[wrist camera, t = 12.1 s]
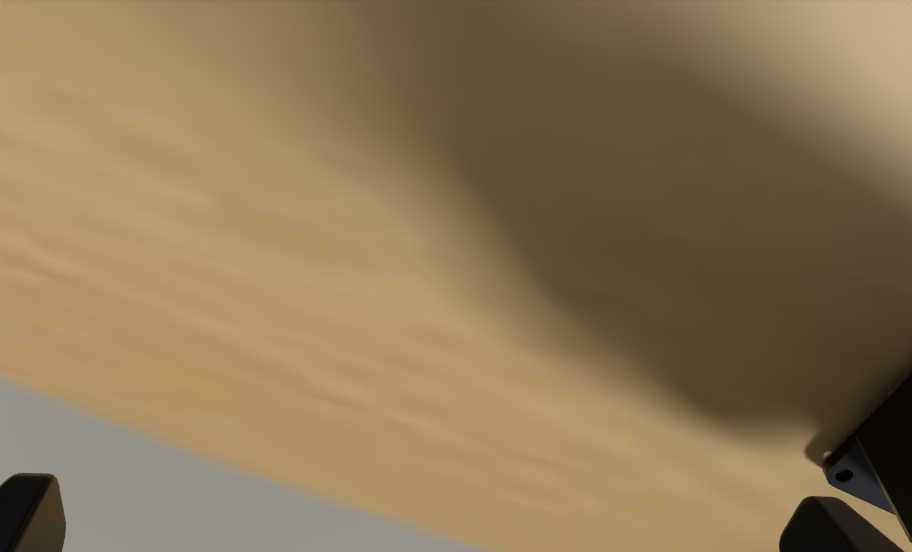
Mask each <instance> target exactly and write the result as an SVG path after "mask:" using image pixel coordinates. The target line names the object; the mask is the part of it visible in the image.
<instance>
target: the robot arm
mask: <svg viewBox="0 0 912 552" xmlns="http://www.w3.org/2000/svg"><path fill="white" fill-rule="evenodd" d="M844 469H847V470H846V471H844V472H841V473H837V472H839V471H840V470H844ZM822 470H823V472H824V474H825V476H826V478H827V481H828V483H829V484H830V485H832V486H833V487H835V488H838V489H840V490H842V491H844V492H846V493H848V494H851V495H853V496H855V497H857V498H859V499H862V500H864V501H866V502H868V503H870V504H872V505H875V506H877V507H879V508H881V509H883V510H886V511H888V512H890V513H892V514H894V515H896V517H897V518H898V520H899V522H900V524H901V526H902V528H903V530H904V532H905V533H906V535H907V537H908V539H909V541H910V542H911V543H912V375H911V376H910V377H909V378H908V379H907V380H906V381H905V382H904V383H903V384H902V385H901V386H900V387H899V388H898V389H897V390H896V391H895V392H894V393H893V394H892V395H891V396H890V397H889V398H888V399H887V400H886V401H885V402H884V403H883V404H882V405H881V406H880V407H879V408H878V409H877V410H876V411H875V412H874V413H873V414H872V415H871V416H870V417H869V418H868V419H867V420H866V421H865V422H864V423H863V424H862V425H861V426H860V427H859V428H858V429H857V430H856V431H855V432H854V433H853V434H852V435H851V436H850V437H849V438H848V439H847V440H846V441H845V442H844V443H843V444H842V445H841V446H840V447H839V448H838V449H837V450H836V451H835V452H834V453H833V454H832V455H831V456H830V457H829V458H828V459H827V460H826V461H825V463H824V464H823V469H822ZM65 531H66V521H65V515H64V510H63V505H62V499H61V494H60V489H59V483H58V481H57V478H56V477H55V476H54V475H52V474H44V473H18V474H15V475H13V476H11V477H10V478H8V479H7V480H6V481H5V482H4V483H3V484H2V485H1V486H0V552H62V548H63V544H64V538H65ZM779 551H780V552H904V551H903V550H902V549H901V548H899V547H898V546H897V545H896V544H895V543H893V542H892V541H891V540H890V539H889V538H887V537H886V536H885V535H884V534H882V533H881V532H880V531H879V530H878V529H876V528H875V527H874V526H873V525H872V524H870V523H869V522H868V521H867V520H866V519H864V518H863V517H862V516H861V515H859V514H858V513H857V512H856V511H855V510H853V509H852V508H851V507H850V506H849V505H847V504H846V503H845V502H843V501H842V500H840V499H838V498H835V497H821V496H810V497H807V498H805V499H803V500H802V501H801V503H800V504H799V506H798V507H797V509H796V511H795V512H794V514H793V516H792V517H791V519H790V521H789V522H788V524H787V526H786V527H785V529H784V530H783V532H782V534H781V537H780V541H779Z"/></svg>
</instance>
